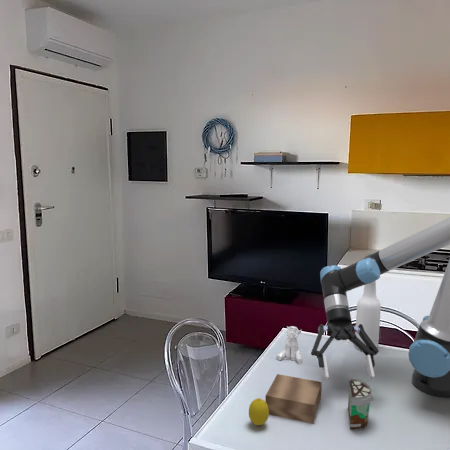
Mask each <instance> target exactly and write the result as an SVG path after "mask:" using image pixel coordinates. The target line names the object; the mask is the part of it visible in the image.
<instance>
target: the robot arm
mask: <svg viewBox="0 0 450 450" xmlns="http://www.w3.org/2000/svg"><path fill="white" fill-rule="evenodd" d="M448 246H450V216H449V217H447V218H445V219H443V220H442V221H439V222H437V223H434V224H432V225H431V226H428V227H426V228H424V229H422V230H419V231H418V232H416V233H413V234H412V235H409V236H407V237H405V238H403V239H401V240H398V241H396V242H394V243H392V244H390V245H388V246H386V247H384V248H382V249H380V250H378V251H375V252H373V253H371V254H368V255H366V256H365V257H364V258H363V257H362V259H360V260H358V261H356V262H354V263H352V264H350V265H347V266H345V267H343V268H341V266H339V265H334V264H332V265H327V266H324V267H322V269H321V270H320V272H319V275H320V284H321V290H322V294H323V295H322V296H323V303H324V309H325V310H324V311H325V318H326V323H327V325H324V324H322V323H321V324H319V326H318V328H317V333H318V334H317V336H316V338H315V341H314V344H313V347H312V350H311V353H310V355H312V356H315V357H316V358H317V361H318V362H317V363H318V367H319V368H322V374H323V380H325V381H326V380H328V379H329V377H330V376H329V369H328V363H327V357H326V354H324V353H325V351H326V350H328V347H329V346H330V345H331V344H332V342H333V341H334V340H336V341H347V340H348V341H349V342H351V343H352V344H354V346H355V345H356V346H357V347H358V348H359V349H360V350H361V352H362V353H363V354H364V355H365V357H364V360H365V364H366V370H367V374H368V380H373V379H374V378H375V372H374V368H375V366H376V363H375V357H374V356H377V354H379V348H378V349H377V347H376V346H375V345H374V343H373V342H372V341H371V339H370V338H369V336H368V335H367V334H366V332H365V331H364V328H363V325H362V324H359V326H356V325H353V322H352V321H353V320H352V316H351V311H350V305H349V301H348V300H349V299H348V296H347V293H348V292H349V291H353V290H354V289H357V288H360V287H362V286H364V285H366V284H370V283H372V282H374V281H376V282H377V281H378V280H379V279H380V278H381V275H384V274H385V273H388V272H389V271H392V270H395V269H396V268H397V269H398V268H399V267H401V266H404V265H406V264H409V263H411V262H413V261H415V260H417V259H420V258H421V257H424V256H427V255H429V254H430V253H434V252H436V251H439V250H440V249H442V248H445V247H448ZM441 279H442V280H441V282H440V286H439V288H438V291H437V293H436V296H435V299H434V301H433V304H432V307H431V310H430V313H429V315H425V316H424V317H423V318H422V321H421V322H420V323H419V327H418V329H417V332H416V335H415V338H414V341H413V342H412V343H411V344H410V346H409V349H408V359H409V362H410V364H411V366H412V367H413V368H414V370H413V372H412V374H411V375H412V377H411V383H412V385H413V386H414V387H415V388H417V389H418V390H419V391H421V392H423V393H426V394H429V395H432V396H437V397H440V398H441V397H442V398H450V259H448V263H447V266H446V268H445V271H444V274H443V276H442V278H441ZM326 331H327V332H328V334H329V335H330V336H329V337H328V338H327V339H326V341H325V342H324V344H323V345H322V347H321V348H320V350H318V348H319V346H320V343H321V340H322V338H323V335H324V334H325V333H326ZM355 331H356V332H357V333H358V334H359V336H360V337H361V339H362V340H363V341H364V343H365V344H366V345H365V344H364V343H363V342H362V341H361V340H360V339H359V338H358V337H357V336H356V335H355V333H354V332H355ZM356 346H355V347H356ZM360 350H359V351H360Z"/></svg>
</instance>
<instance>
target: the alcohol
mask: <svg viewBox="0 0 450 450" xmlns="http://www.w3.org/2000/svg"><path fill="white" fill-rule="evenodd" d="M363 286H364V287H363V294H362V296H361V297H360V298H358V301H357V303H356V313H355V314H356V316H355V319H356V320H355V326H359V324H362V325H363V328H364V331H365V332H366V334H367V335H368V336H369V338H370V339H371V341H372V342H373V343H374V345H375V346H376V347H377V349H378V350H379V341H380V340H379V337H380V324H381V310H382V305H381V302H380V300H379V299H378V297H377V280H376V281H374V282H372V283H370V284H366V285H363ZM354 332H355V333H354V334H355V335H356V336H357V337H358V338H359V339H360V340H361V341H362V342H363V343H364V341H363V340H362V339H361V337H360V336H359V334H358V333H357V332H356V331H355V330H354ZM364 344H365V343H364ZM365 345H366V344H365ZM354 346H355V348H356V350H359V351H361V350H360V349H359V348H358V347H357V346H356V345H355V344H354ZM361 352H362V351H361Z"/></svg>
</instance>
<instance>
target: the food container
mask: <svg viewBox="0 0 450 450" xmlns="http://www.w3.org/2000/svg"><path fill="white" fill-rule="evenodd" d="M347 398H348V399H347V400H348V404H347V415H348V416H347V417H348V424H349V430H353V431H354V430H355V429H356V430H360V429H363V428H365V427H367V425H368V418H369V414H370V413H369V412H370V407H371V406H370V405H371V402H372V401H373V399H374V394H373V389H372V388H371V386H370V385H369V384H368V383H367V382H365V381H363V380H362V379H358V378H354V377H349V379H348V397H347Z"/></svg>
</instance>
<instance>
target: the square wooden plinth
mask: <svg viewBox="0 0 450 450" xmlns="http://www.w3.org/2000/svg"><path fill="white" fill-rule="evenodd" d="M322 384H323V383H322V381H318V380H313V379H306V378H302V377H295V376H291V375H285V374H279V373H278V374H276V376H275V377H274V380H273V381H272V383H271V384H270V387H269V388H268V390H267V392H266V393H265V400H264V401H265V402H266V403H267V405H268V409H269V416H270V415H271V416H276V417H278V418H279V417H280V418H284V419H289V420H293V421H298V422H303V423H308V424H315V420H316V419H317V418H316V417H317V413H318V410H319V407H320V404H321V400H322V388H323V387H322V386H323V385H322Z"/></svg>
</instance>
